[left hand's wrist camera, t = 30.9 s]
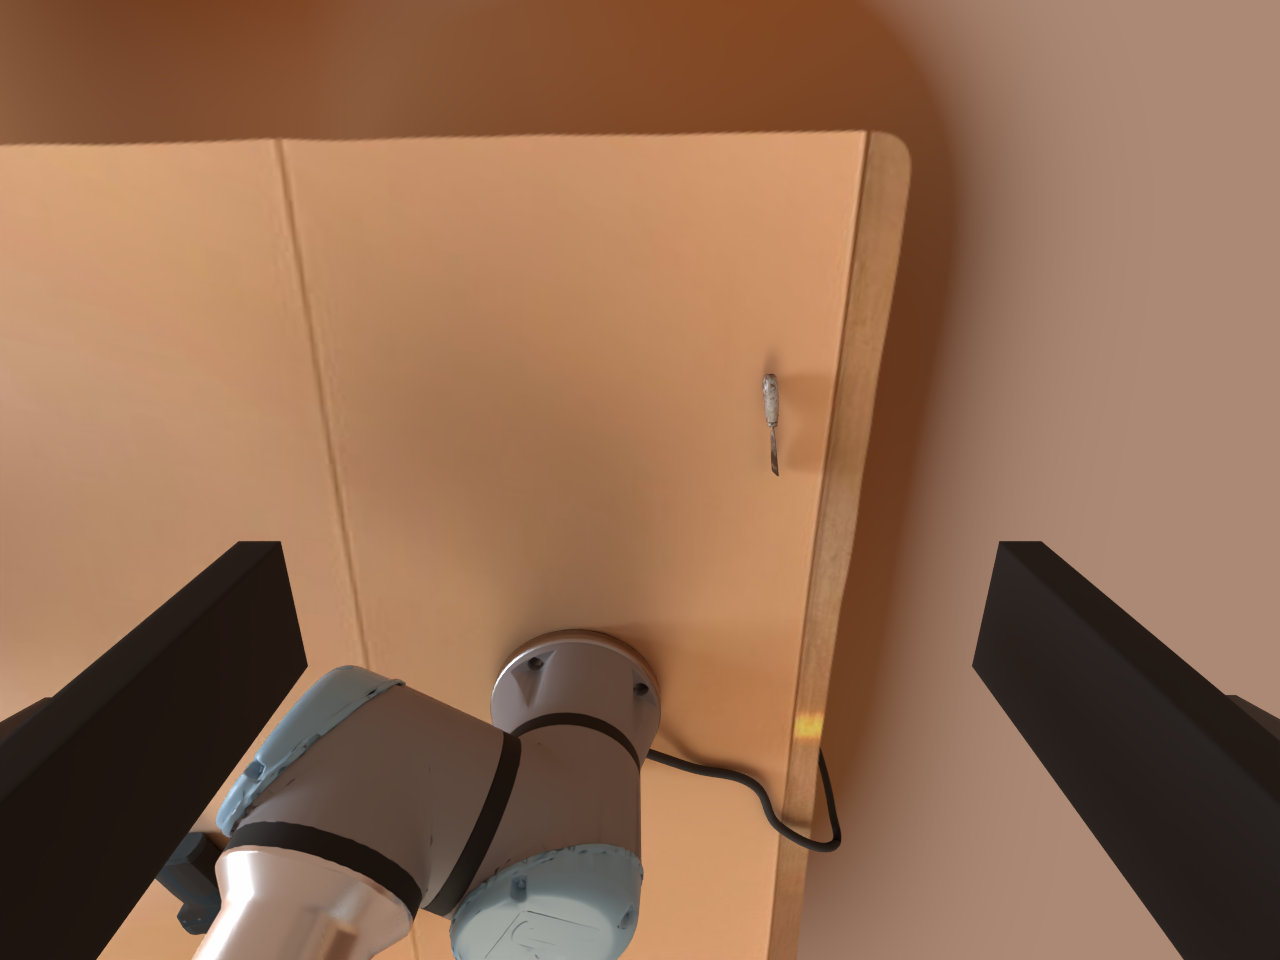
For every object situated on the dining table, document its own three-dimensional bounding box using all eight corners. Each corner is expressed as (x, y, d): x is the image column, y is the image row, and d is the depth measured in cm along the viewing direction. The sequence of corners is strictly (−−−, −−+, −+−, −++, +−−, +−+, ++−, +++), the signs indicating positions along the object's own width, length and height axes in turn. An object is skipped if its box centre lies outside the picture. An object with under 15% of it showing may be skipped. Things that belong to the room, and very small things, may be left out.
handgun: (321, 809, 68) (362, 892, 73) (157, 836, 69) (207, 916, 74) (307, 837, 65) (351, 921, 70) (136, 865, 66) (189, 946, 71)
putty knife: (774, 371, 52) (778, 376, 50) (781, 469, 55) (785, 477, 53) (760, 373, 52) (764, 378, 50) (768, 470, 55) (772, 478, 53)
